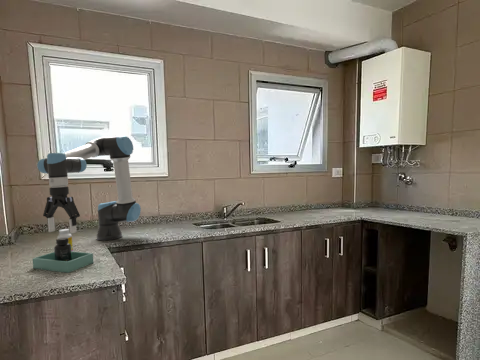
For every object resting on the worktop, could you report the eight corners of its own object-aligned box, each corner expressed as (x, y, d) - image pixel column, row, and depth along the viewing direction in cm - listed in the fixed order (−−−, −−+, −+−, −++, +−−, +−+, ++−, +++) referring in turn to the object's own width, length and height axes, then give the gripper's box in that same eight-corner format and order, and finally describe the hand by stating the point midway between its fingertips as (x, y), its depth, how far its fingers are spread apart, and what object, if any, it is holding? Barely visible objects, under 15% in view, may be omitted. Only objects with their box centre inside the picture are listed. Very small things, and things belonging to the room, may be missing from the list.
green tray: (60, 259, 148) (59, 250, 148) (93, 262, 141) (92, 253, 141) (33, 268, 136) (32, 258, 135) (68, 272, 128) (67, 262, 128)
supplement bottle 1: (75, 251, 162) (74, 228, 161) (68, 255, 155) (67, 230, 154) (62, 252, 161) (61, 228, 161) (55, 255, 155) (54, 231, 154)
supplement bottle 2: (75, 261, 142) (73, 236, 141) (67, 266, 135) (65, 240, 134) (60, 262, 142) (59, 237, 141) (51, 266, 135) (50, 240, 134)
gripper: (31, 187, 137) (35, 232, 139) (71, 187, 129) (75, 235, 130) (47, 185, 144) (50, 228, 146) (86, 185, 136) (89, 231, 137)
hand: (62, 232), depth 138 cm, fingers open, 13 cm apart
